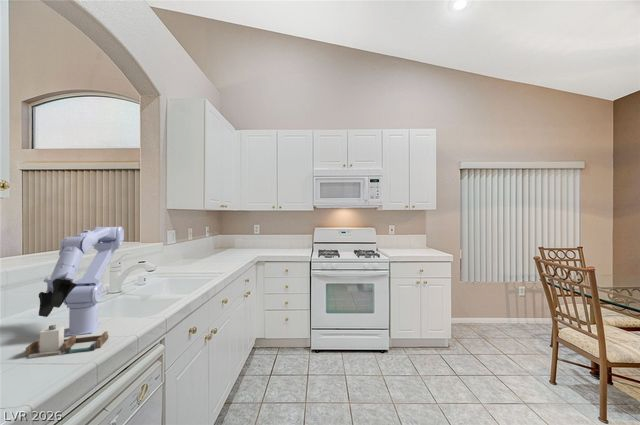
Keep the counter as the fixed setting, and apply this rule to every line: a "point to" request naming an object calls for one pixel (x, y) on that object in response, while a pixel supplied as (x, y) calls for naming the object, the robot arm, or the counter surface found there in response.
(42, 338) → the plug
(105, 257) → the robot arm
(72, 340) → the slot rack
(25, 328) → the counter surface
